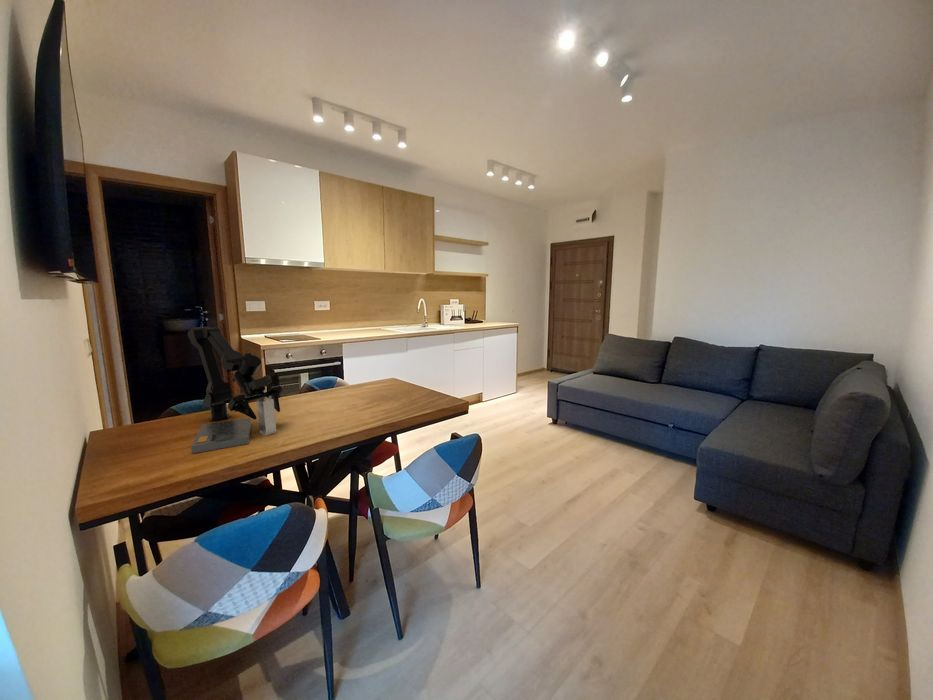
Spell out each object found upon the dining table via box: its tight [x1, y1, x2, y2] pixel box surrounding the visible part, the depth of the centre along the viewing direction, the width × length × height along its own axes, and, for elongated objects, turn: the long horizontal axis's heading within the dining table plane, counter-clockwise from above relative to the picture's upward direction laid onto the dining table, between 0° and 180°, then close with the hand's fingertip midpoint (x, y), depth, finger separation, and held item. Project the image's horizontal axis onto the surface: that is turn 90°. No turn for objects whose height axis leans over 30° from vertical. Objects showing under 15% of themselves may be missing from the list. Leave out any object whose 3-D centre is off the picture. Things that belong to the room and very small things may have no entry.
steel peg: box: [255, 397, 277, 437], centre depth 134 cm, size 4×4×13 cm
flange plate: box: [190, 417, 252, 454], centre depth 131 cm, size 22×16×3 cm
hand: (267, 415), depth 133 cm, fingers open, 9 cm apart
